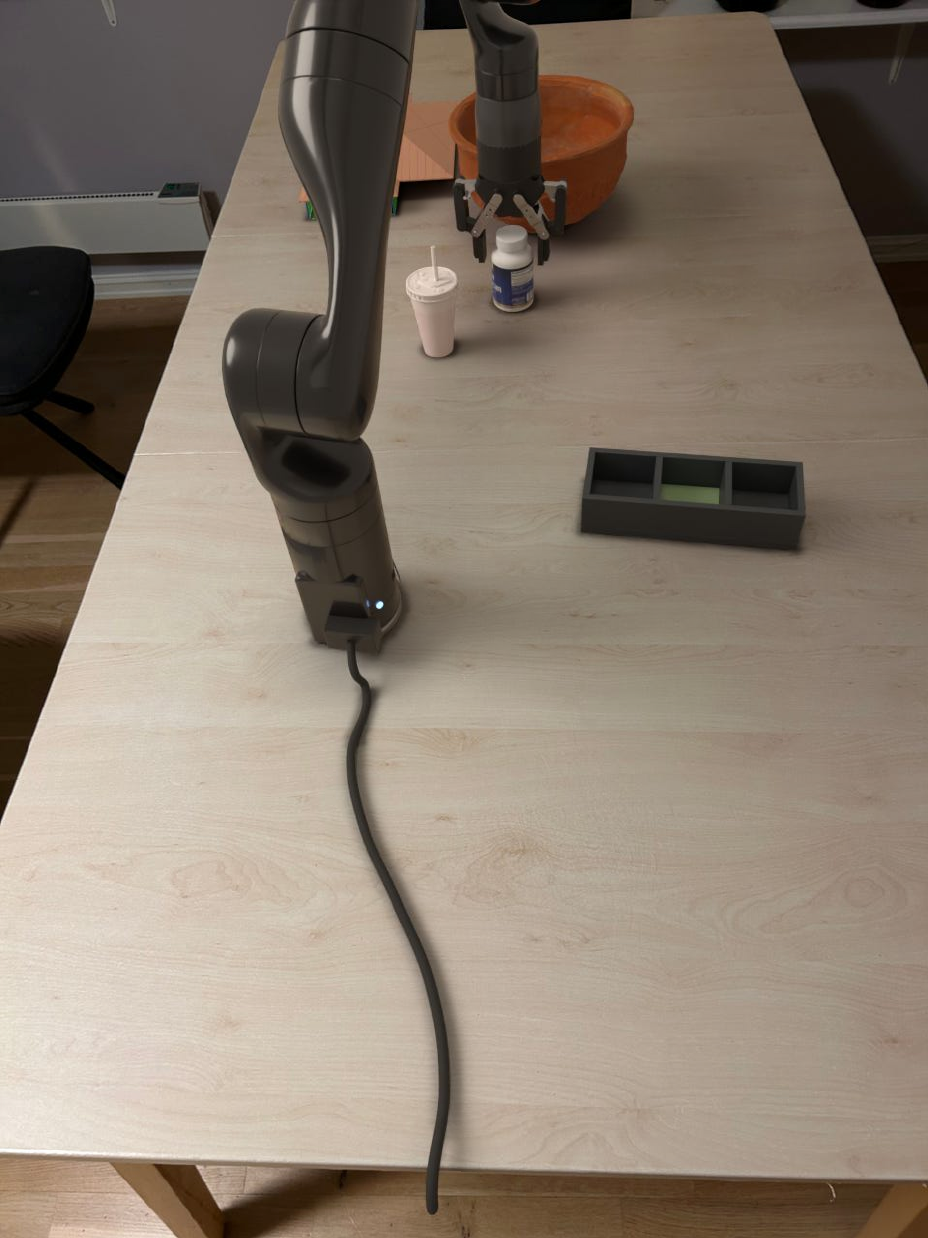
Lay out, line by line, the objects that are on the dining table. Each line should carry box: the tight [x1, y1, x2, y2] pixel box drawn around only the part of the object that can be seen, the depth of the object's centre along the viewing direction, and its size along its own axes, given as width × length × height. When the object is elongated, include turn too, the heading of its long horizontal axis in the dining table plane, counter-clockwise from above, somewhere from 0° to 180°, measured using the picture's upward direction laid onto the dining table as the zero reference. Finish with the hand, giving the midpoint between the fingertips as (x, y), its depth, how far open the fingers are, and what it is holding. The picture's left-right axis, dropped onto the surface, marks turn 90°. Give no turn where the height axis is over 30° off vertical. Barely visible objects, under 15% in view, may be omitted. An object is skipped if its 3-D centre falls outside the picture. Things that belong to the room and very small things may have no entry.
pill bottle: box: [490, 224, 535, 313], centre depth 121 cm, size 5×5×10 cm
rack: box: [580, 446, 807, 551], centre depth 97 cm, size 8×22×5 cm, turn 80°
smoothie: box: [405, 245, 460, 358], centre depth 114 cm, size 6×6×14 cm
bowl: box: [448, 74, 635, 234], centre depth 131 cm, size 25×25×15 cm
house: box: [298, 92, 459, 220], centre depth 147 cm, size 23×33×8 cm
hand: (512, 260), depth 120 cm, fingers open, 7 cm apart
